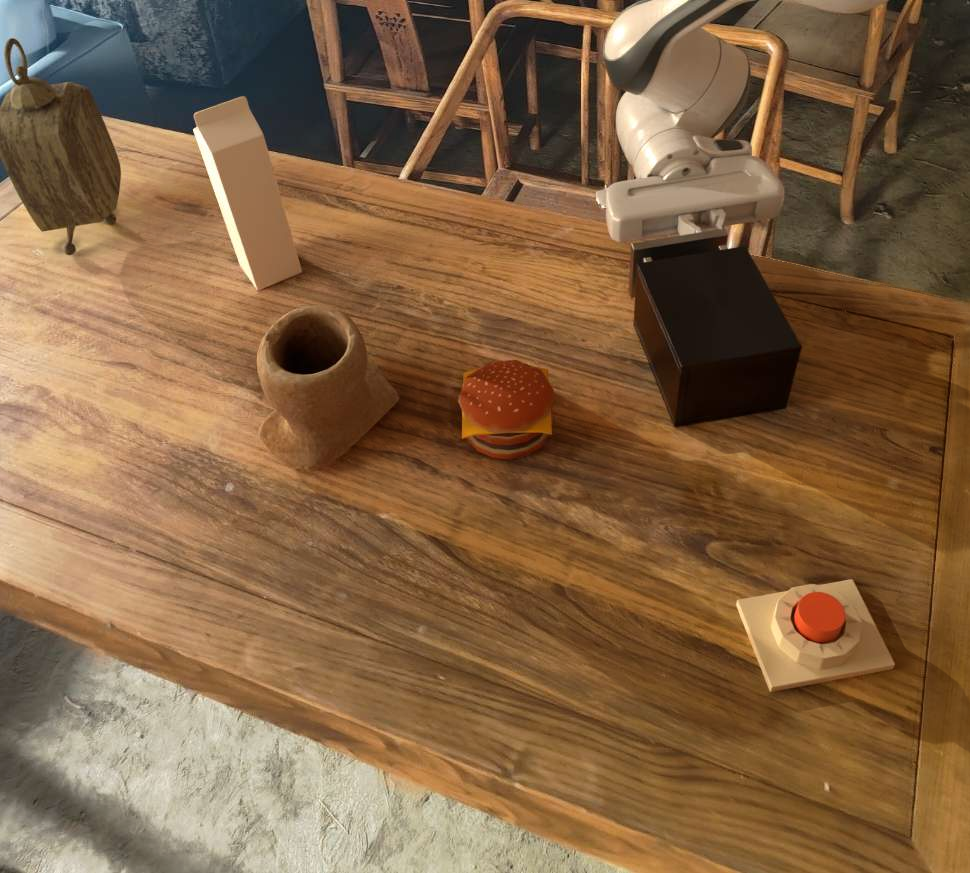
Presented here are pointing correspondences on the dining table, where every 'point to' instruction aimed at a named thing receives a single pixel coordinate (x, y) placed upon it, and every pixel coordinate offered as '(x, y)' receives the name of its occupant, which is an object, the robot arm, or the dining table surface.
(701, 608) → the dining table surface
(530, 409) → the hamburger
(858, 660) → the button base
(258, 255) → the milk
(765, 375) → the dark brown box
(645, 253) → the drawer
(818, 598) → the button
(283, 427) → the stone cup
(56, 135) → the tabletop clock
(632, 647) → the dining table surface
